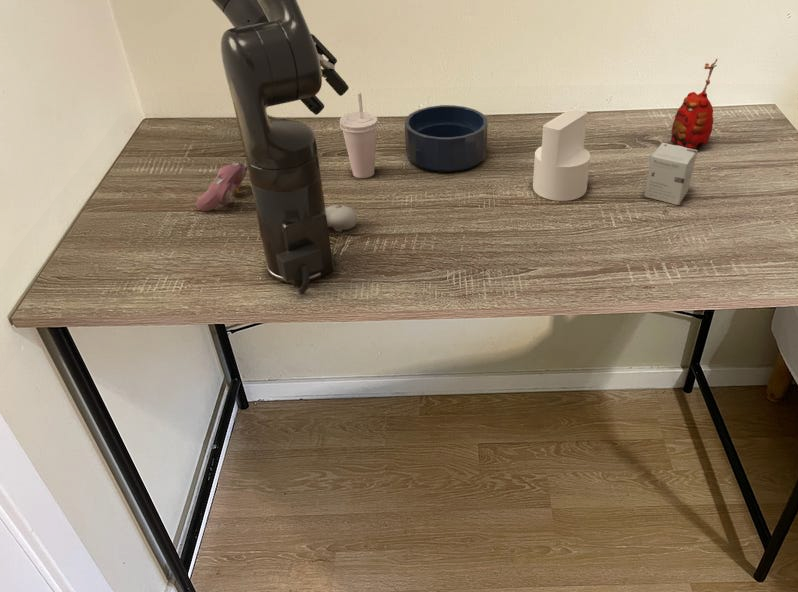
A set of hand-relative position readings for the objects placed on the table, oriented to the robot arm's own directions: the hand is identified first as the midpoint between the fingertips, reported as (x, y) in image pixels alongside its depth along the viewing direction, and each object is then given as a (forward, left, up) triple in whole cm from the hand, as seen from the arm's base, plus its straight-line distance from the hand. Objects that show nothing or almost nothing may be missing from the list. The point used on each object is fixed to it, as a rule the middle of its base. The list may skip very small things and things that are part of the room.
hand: (333, 101), depth 126 cm
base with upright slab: (-28, -26, -12) cm, 40 cm away
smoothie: (-4, -2, -12) cm, 13 cm away
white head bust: (-17, +11, -12) cm, 23 cm away
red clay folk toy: (-29, -57, -12) cm, 65 cm away
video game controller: (+1, +21, -12) cm, 24 cm away
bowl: (-7, -18, -12) cm, 23 cm away
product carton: (-40, -39, -12) cm, 57 cm away
